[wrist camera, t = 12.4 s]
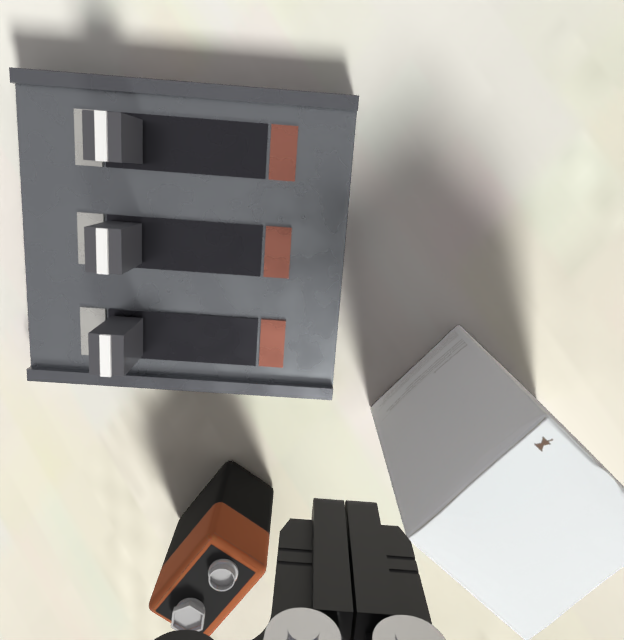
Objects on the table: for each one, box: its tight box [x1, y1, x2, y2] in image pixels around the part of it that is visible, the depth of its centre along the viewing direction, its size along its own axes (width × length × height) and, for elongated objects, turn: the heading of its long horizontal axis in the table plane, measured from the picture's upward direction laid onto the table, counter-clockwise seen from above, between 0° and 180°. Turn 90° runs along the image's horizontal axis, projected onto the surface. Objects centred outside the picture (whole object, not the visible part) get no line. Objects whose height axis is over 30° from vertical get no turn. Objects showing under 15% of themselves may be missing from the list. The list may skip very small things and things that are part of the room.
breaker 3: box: [88, 316, 143, 377], centre depth 34 cm, size 2×2×4 cm
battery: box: [149, 461, 273, 636], centre depth 37 cm, size 4×7×10 cm, turn 142°
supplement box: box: [371, 325, 624, 640], centre depth 33 cm, size 9×9×15 cm
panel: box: [9, 67, 359, 400], centre depth 36 cm, size 20×19×3 cm
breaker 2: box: [84, 221, 142, 275], centre depth 33 cm, size 2×2×4 cm
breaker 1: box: [82, 110, 143, 164], centre depth 31 cm, size 2×2×4 cm
